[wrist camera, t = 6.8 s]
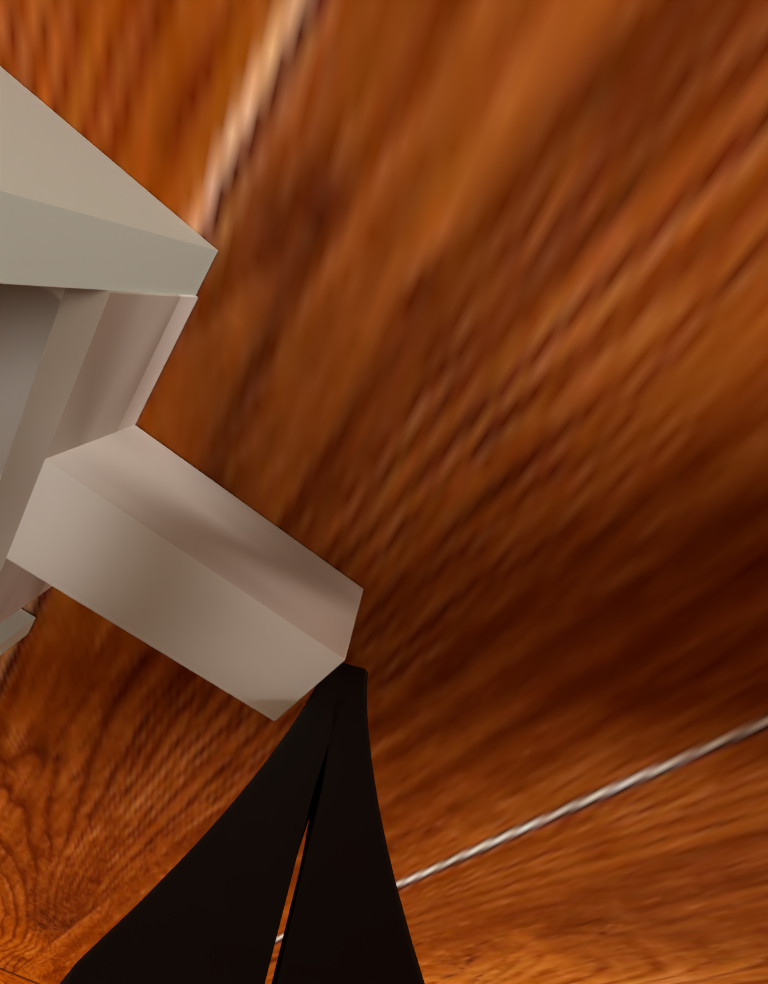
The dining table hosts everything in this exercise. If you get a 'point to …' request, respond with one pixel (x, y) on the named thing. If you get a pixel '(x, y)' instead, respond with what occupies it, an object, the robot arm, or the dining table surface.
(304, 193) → the dining table surface
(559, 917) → the dining table surface
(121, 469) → the drawer with block handle
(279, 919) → the robot arm
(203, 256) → the grey bridge stand
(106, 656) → the dining table surface
